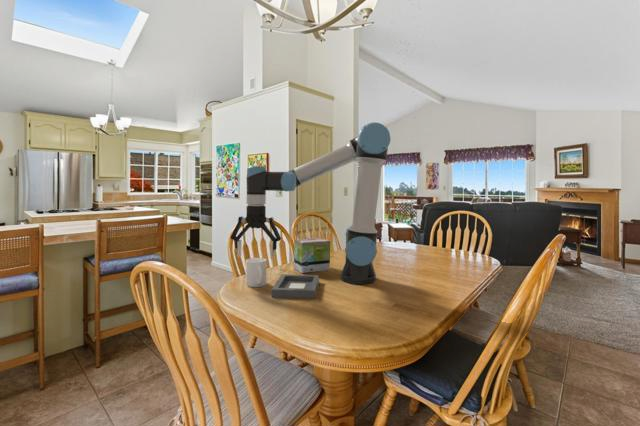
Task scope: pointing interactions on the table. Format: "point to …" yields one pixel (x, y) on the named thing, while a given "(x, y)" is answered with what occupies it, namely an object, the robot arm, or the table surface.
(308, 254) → the tea box
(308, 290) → the gray tray
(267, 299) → the table surface
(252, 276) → the mug
